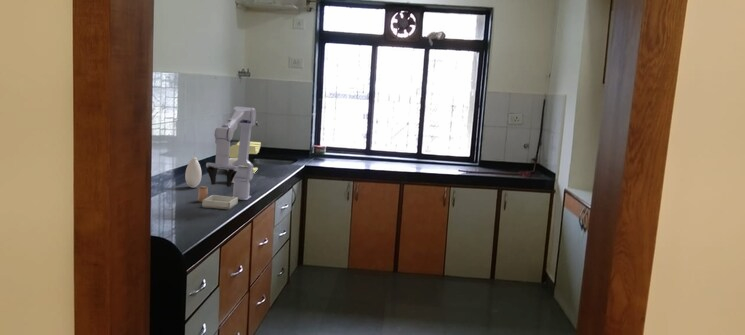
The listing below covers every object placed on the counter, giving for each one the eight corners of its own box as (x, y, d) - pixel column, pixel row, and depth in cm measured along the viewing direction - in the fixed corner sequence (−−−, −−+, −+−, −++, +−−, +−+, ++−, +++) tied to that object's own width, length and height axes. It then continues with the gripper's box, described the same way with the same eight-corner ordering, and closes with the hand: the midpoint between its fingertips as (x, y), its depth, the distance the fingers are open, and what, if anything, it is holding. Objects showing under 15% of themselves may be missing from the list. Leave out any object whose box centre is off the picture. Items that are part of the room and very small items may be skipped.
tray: (211, 201, 263) (212, 194, 262) (237, 203, 263) (238, 197, 262) (202, 207, 249) (202, 200, 249) (229, 209, 249) (229, 202, 248)
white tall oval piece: (196, 189, 288) (197, 154, 286) (181, 187, 290) (183, 152, 288) (203, 187, 296) (205, 153, 294) (189, 185, 297) (191, 151, 295)
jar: (199, 199, 264) (200, 185, 263) (208, 200, 264) (208, 186, 263) (196, 201, 260) (197, 187, 259) (205, 202, 260) (206, 187, 259)
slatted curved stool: (235, 167, 380) (236, 140, 378) (259, 168, 382) (260, 142, 380) (227, 173, 351) (228, 144, 348) (253, 175, 352) (255, 146, 350)
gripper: (202, 153, 246) (201, 184, 248) (232, 157, 242) (231, 188, 244) (211, 152, 253) (210, 182, 254) (241, 155, 249) (239, 186, 251)
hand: (221, 185), depth 250 cm, fingers open, 7 cm apart
